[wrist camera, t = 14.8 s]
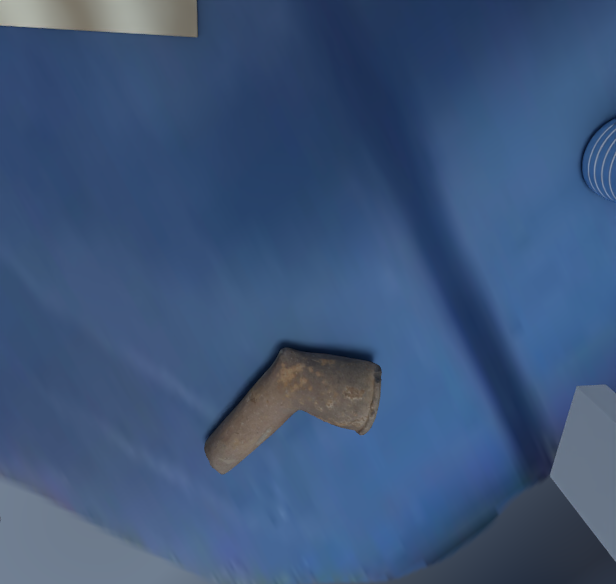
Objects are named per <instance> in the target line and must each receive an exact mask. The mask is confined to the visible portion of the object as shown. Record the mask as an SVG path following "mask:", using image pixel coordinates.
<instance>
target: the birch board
mask: <svg viewBox="0 0 616 584" xmlns="http://www.w3.org/2000/svg"><path fill="white" fill-rule="evenodd" d="M0 25H2V26H18V27H35V28H52V29H69V30H85V31H102V32H119V33H135V34H152V35H169V36H186V37H198V28H197V0H0Z"/></svg>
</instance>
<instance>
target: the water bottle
mask: <svg viewBox="0 0 616 584" xmlns="http://www.w3.org/2000/svg"><path fill="white" fill-rule="evenodd" d="M582 172H583V177H584V180H585V182H586V184H587V185H588V187H589V188H590V189H591V190H592V191H593V192H595V193H596V194H597V195H599V196H601V197H603V198H604V199H607V200H609V201H612V202H614V203H616V118H615V119H613V120H611V121H609V122H608V123H606V124H605V125H604V126H602V127H601V128H600V129H599V130H598V131H597V132H596V133H595V134H594V136H593V137H592V138H591V140H590V141H589V143H588V145H587V147H586V149H585V152H584V156H583V161H582Z"/></svg>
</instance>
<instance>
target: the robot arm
mask: <svg viewBox="0 0 616 584" xmlns="http://www.w3.org/2000/svg"><path fill="white" fill-rule="evenodd" d="M550 477H551V478H552V479H553V481H554V482H555V483H556V485H557V486H558V487H559V489H560V490H561V491H562V492H563V494H564V495H565V496H566V498H567V499H568V500H569V502H570V503H571V504H572V505H573V507H574V508H575V509H576V511H577V512H578V513H579V514H580V516H581V517H582V518H583V520H584V521H585V522H586V524H587V525H588V526H589V527H590V529H591V530H592V531H593V533H594V534H595V535H596V537H597V538H598V539H599V541H600V542H601V543H602V544H603V546H604V547H605V548H606V550H607V551H608V552H609V554H610V555H611V556H612V557H613V559H614V560H615V561H616V393H615V392H613V391H612V390H611V389H610V388H609V387H608V386H607V385H590V386H577V387H576V391H575V394H574V397H573V401H572V404H571V407H570V411H569V414H568V417H567V421H566V424H565V427H564V431H563V434H562V437H561V440H560V444H559V447H558V450H557V454H556V457H555V460H554V464H553V467H552V470H551V474H550ZM0 521H1V518H0Z"/></svg>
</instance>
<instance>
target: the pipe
mask: <svg viewBox="0 0 616 584" xmlns="http://www.w3.org/2000/svg"><path fill="white" fill-rule="evenodd" d="M381 373H382V371H381V368H380V366H379V365H377V364H375V363H373V362H369V361H365V360H360V359H354V358H348V357H343V356H336V355H330V354H323V353H309V352H302V351H298V350H295V349H292V348H287V347H285V348H283V349H281V350H280V352H279V354H278V356H277V358H276V360H275V361H274V363H273V364H272V365H271V367H270V368H269V369H268V370H267V371H266V372H265V373H264V374H263V375H262V377H261V378H260V379H259V380H258V381H257V382H256V383H255V384H254V386H253V387H252V388H251V389H250V390H249V392H248V393H247V394H246V396H245V397H244V398H243V399H242V400H241V402H240V403H239V404H238V405H237V406H236V407H235V408H234V410H233V411H232V412H231V413H230V414H229V415H228V416H227V417H226V418H225V419H224V421H223V422H222V423H221V424H220V425H219V426H218V427H217V428H216V430H215V431H214V432H213V433H212V434H211V435H210V437H209V438H208V439H207V441H206V442H205V448H204V450H205V453H206V456H207V458H208V460H209V462H210V465H211V466H212V467H213V468H214V469H216V471H218V472H219V473H220V474H225V473H227V472H228V471H229V470H231V469H232V468H233V467H235V466H236V465H237V464H238V463H240V462H241V461H242V460H243V459H244V458H245V457H246V456H248V455H249V454H250V453H251V452H252V451H253V450H255V449H256V448H257V447H258V446H259V445H260V444H261V443H263V442H264V441H265V440H266V439H267V438H268V437H269V436H271V435H272V434H273V433H274V432H275V431H276V430H277V429H278V428H279V427H280V426H281V425H282V424H283V423H284V422H285V421H286V420H287V419H288V418H289V417H290V416H291V415H293V414H294V413H295V412H296V411H298V410H303V411H305V412H308V413H309V414H311V415H313V416H316V417H317V418H319V419H321V420H323V421H325V422H328V423H330V424H332V425H335V426H338V427H342V428H346V429H351V430H355V431H356V432H357V433H358V434H359V435H364V434H366V433H367V432H368V431H369V430H370V428H371V427H372V424H373V422H374V420H375V418H376V414H377V410H378V406H379V401H380V390H381Z"/></svg>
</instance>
